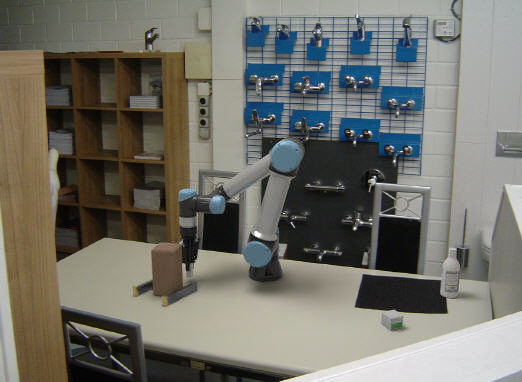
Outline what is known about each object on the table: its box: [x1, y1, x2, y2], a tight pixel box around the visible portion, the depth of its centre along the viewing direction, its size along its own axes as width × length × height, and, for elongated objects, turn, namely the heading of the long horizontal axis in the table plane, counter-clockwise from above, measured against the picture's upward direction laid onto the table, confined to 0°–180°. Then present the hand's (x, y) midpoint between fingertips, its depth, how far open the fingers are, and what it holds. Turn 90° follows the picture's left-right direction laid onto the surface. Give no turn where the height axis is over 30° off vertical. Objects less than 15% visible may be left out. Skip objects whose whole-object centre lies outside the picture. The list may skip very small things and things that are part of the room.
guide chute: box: [132, 278, 198, 308], centre depth 225 cm, size 18×19×4 cm
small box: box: [380, 309, 404, 331], centre depth 196 cm, size 6×6×5 cm
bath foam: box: [439, 247, 461, 299], centre depth 221 cm, size 7×7×20 cm
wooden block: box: [150, 242, 184, 297], centre depth 224 cm, size 10×10×20 cm
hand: (189, 277), depth 237 cm, fingers closed
